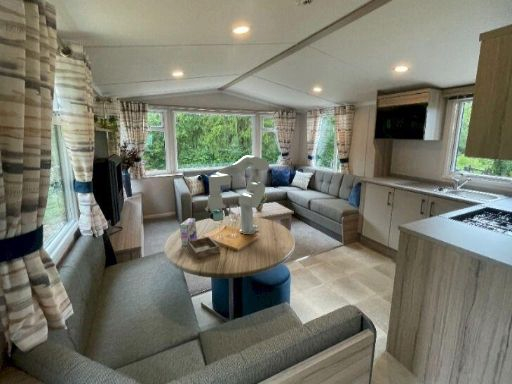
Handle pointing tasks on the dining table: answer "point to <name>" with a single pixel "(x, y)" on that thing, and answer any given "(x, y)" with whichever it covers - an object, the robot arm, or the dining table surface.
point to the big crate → (203, 247)
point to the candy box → (188, 231)
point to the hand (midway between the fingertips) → (216, 217)
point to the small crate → (217, 215)
